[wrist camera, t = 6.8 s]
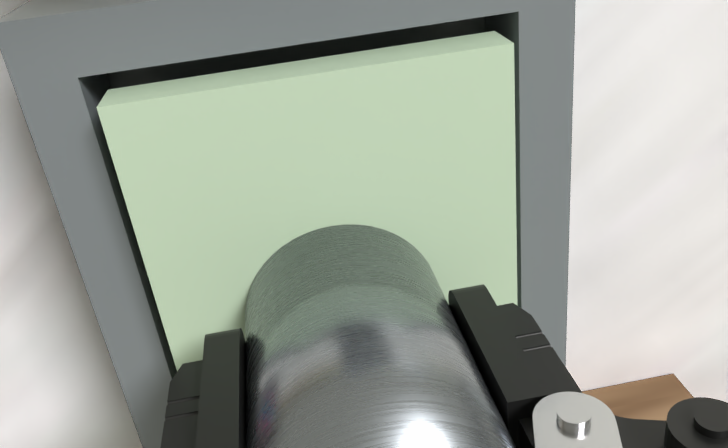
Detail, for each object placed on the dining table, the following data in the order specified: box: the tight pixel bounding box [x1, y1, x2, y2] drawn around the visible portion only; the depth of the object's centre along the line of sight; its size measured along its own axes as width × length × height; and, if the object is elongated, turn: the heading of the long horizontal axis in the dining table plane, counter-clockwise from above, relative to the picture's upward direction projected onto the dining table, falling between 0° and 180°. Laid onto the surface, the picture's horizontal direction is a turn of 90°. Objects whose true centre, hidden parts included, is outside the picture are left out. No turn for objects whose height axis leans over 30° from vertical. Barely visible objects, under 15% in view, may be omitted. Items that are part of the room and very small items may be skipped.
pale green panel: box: [96, 31, 518, 371], centre depth 16 cm, size 8×11×1 cm
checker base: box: [0, 0, 575, 448], centre depth 18 cm, size 11×14×4 cm
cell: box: [245, 224, 516, 448], centre depth 13 cm, size 4×4×7 cm
